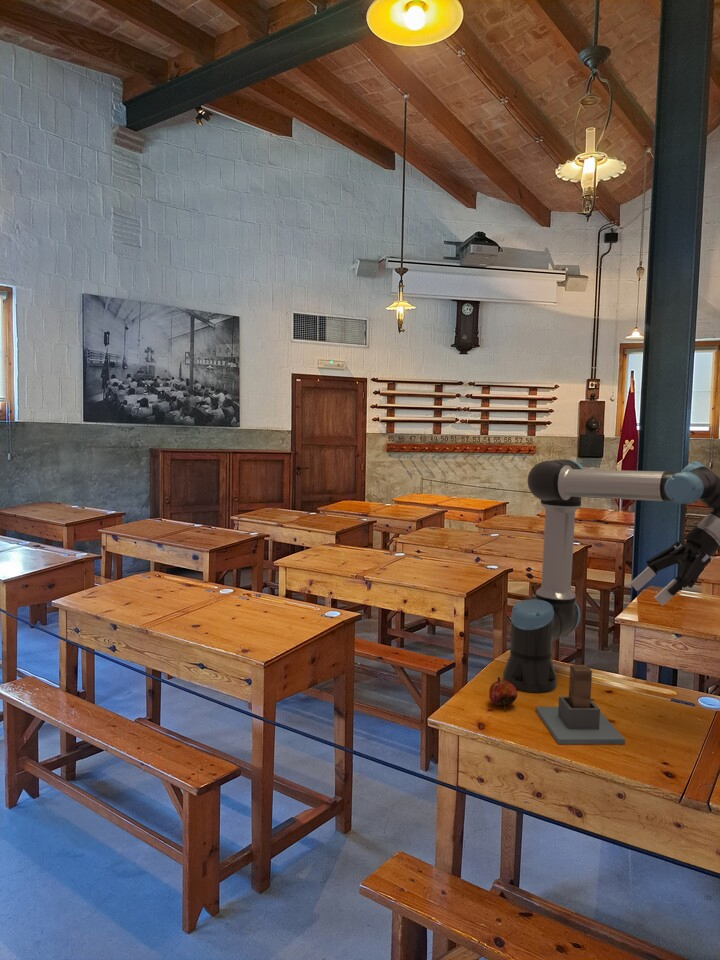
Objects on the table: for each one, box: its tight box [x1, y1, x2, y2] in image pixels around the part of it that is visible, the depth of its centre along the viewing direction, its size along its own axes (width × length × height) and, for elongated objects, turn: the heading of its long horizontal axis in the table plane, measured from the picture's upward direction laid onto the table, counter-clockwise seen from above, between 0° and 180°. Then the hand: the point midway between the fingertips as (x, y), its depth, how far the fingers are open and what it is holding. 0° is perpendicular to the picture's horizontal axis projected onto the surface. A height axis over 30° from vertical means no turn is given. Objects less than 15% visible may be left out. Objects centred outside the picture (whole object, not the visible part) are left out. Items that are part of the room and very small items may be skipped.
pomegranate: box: [488, 677, 518, 712], centre depth 178 cm, size 7×7×10 cm
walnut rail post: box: [568, 664, 593, 708], centre depth 167 cm, size 4×4×14 cm
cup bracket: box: [535, 696, 626, 745], centre depth 167 cm, size 18×16×6 cm
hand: (645, 594), depth 169 cm, fingers open, 13 cm apart
